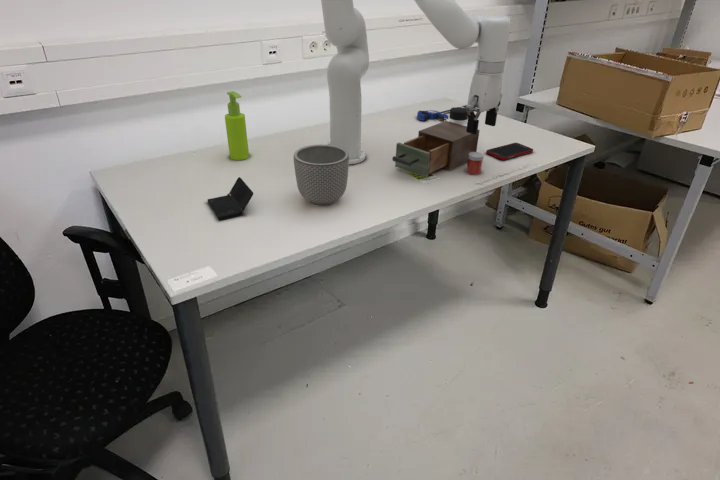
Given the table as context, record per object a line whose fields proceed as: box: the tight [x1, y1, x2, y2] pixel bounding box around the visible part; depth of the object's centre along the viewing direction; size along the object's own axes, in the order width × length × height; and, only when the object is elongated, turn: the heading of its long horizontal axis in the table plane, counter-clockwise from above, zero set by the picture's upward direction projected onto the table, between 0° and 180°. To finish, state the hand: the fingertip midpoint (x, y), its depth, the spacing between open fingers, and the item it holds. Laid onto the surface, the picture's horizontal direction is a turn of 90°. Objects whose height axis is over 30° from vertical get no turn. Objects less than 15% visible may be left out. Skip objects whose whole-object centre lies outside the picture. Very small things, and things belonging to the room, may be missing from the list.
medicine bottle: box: [445, 106, 468, 126], centre depth 164 cm, size 7×7×12 cm
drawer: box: [392, 135, 451, 179], centre depth 144 cm, size 18×11×7 cm, turn 137°
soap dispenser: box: [224, 91, 250, 161], centre depth 148 cm, size 6×7×20 cm
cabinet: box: [417, 120, 481, 171], centre depth 153 cm, size 15×13×9 cm
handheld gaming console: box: [207, 176, 254, 221], centre depth 123 cm, size 12×7×10 cm
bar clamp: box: [416, 104, 467, 122], centre depth 195 cm, size 32×2×10 cm
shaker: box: [465, 151, 484, 175], centre depth 145 cm, size 4×4×6 cm
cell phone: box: [485, 142, 534, 161], centre depth 160 cm, size 8×15×1 cm, turn 123°
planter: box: [293, 143, 350, 207], centre depth 125 cm, size 14×14×13 cm
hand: (480, 129), depth 140 cm, fingers open, 9 cm apart
